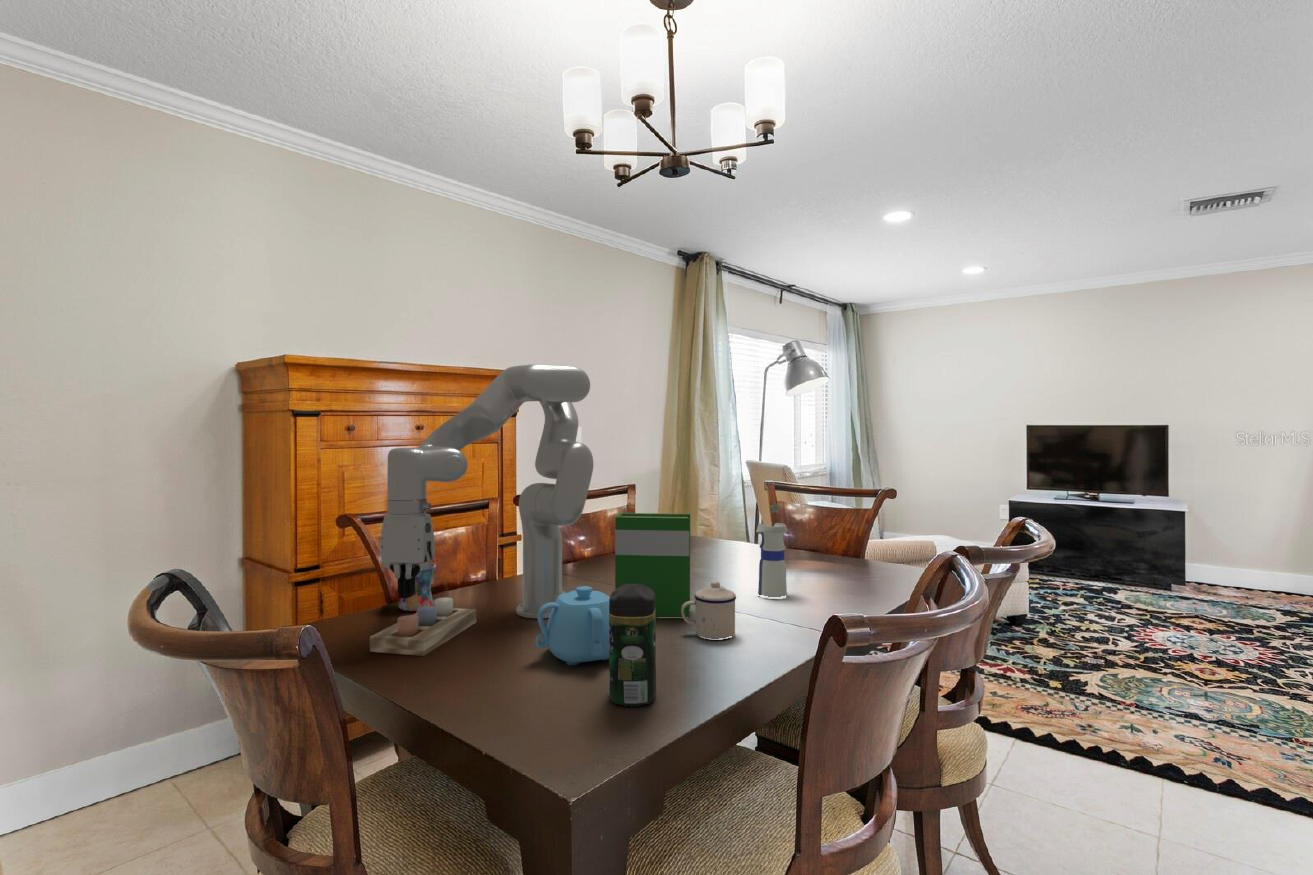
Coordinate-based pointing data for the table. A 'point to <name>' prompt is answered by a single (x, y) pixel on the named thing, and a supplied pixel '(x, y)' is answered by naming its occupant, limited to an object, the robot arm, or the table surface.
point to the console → (423, 634)
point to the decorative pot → (577, 626)
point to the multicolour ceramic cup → (420, 591)
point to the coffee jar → (632, 645)
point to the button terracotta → (408, 626)
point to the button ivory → (444, 606)
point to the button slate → (426, 616)
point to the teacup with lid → (713, 612)
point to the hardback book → (655, 557)
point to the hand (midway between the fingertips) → (406, 596)
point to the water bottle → (772, 559)
